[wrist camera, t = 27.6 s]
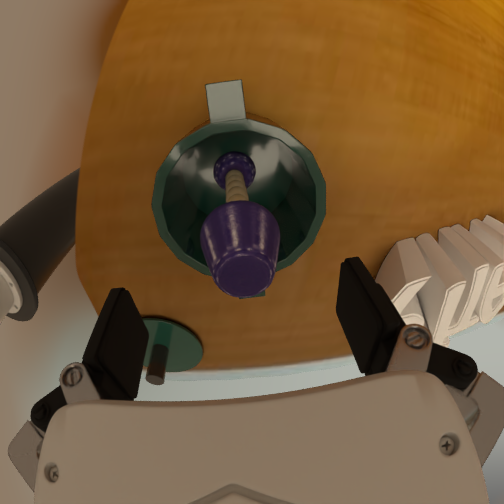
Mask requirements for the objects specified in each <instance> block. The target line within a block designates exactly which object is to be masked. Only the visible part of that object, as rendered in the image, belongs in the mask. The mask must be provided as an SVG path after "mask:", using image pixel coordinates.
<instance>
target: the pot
mask: <svg viewBox="0 0 504 504" xmlns="http://www.w3.org/2000/svg"><path fill="white" fill-rule="evenodd" d="M205 89H206V96H207V104H208V111H209V118H210V119H208V120H207V121H205V122H203V123H202V124H200V125H198V126H197V127H195V128H194V129H193V130H191V131H190V132H189V133H188V134H187V135H185V136H184V137H183V138H182V139H181V140H180V141H179V142H177V143H176V144H175V146H174V147H173V149H172V150H171V151H170V153H169V154H168V156H167V157H166V159H165V160H164V162H163V163H162V165H161V166H160V168H159V170H158V171H157V173H156V178H155V184H154V190H153V197H152V204H151V205H152V210H153V214H154V217H155V221H156V224H157V228H158V231H159V235H160V237H161V238H162V239H163V241H164V242H165V243H166V244H167V246H168V247H169V248H170V249H171V251H172V252H173V253H174V254H175V256H176V257H177V258H178V259H179V260H180V261H182V262H184V263H185V264H187V265H189V266H191V267H192V268H194V269H196V270H197V271H199V272H201V273H202V274H204V275H209V276H212V275H211V273H210V270H209V267H208V265H207V262H206V259H205V256H204V253H203V250H202V248H201V242H200V233H201V228H202V225H203V223H204V221H205V219H206V217H207V216H208V215H209V214H210V213H211V212H212V211H213V210H214V209H215V208H216V207H218V206H220V205H222V204H225V203H227V202H226V191H225V190H224V189H222V188H221V187H220V186H219V185H218V184H217V183H216V181H215V179H214V175H213V170H214V165H215V163H216V161H217V160H218V159H219V158H220V157H221V156H222V155H224V154H226V153H228V152H232V151H237V152H242V153H244V154H246V155H248V156H249V157H250V158H251V159H252V160H253V162H254V164H255V168H256V175H255V178H254V181H253V182H252V184H251V185H250V186H249V187H248V188H247V194H248V198H249V200H248V201H251V202H255V203H258V204H259V205H262V206H263V207H265V208H266V209H267V210H268V211H270V212H271V213H272V215H273V216H274V217H275V219H276V221H277V223H278V226H279V230H280V245H279V252H278V259H277V266H276V272H277V271H279V270H281V269H283V268H285V267H287V266H289V265H292V264H293V263H294V262H295V261H296V260H297V259H298V258H299V257H300V256H301V255H302V254H303V253H304V252H305V251H306V250H307V249H308V248H309V247H310V246H311V245H312V244H313V242H314V240H315V238H316V236H317V234H318V231H319V229H320V227H321V225H322V222H323V220H324V218H325V215H326V183H325V180H324V178H323V175H322V173H321V171H320V169H319V166H318V164H317V162H316V160H315V158H314V156H313V154H312V153H311V151H310V150H309V149H307V148H306V147H305V146H304V145H303V144H302V143H301V142H299V141H298V140H297V139H296V138H295V137H294V136H292V135H291V134H290V133H289V132H288V131H286V130H285V129H284V128H282V127H281V126H279V125H278V124H276V123H275V122H273V121H272V120H270V119H268V118H266V117H262V116H259V115H256V114H251V113H248V112H246V111H245V102H244V94H243V86H242V80H232V81H225V82H218V83H211V84H206V85H205ZM261 296H265V290H264V291H263V292H261V293H260V294H257V295H255V296H252V297H261ZM252 297H245V298H252ZM239 299H244V298H240V297H239Z"/></svg>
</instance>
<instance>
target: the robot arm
mask: <svg viewBox="0 0 504 504" xmlns="http://www.w3.org/2000/svg"><path fill="white" fill-rule="evenodd" d="M22 303H23V299H22V294H21V290H20V288H19V285H18V283H17V281H16V279H15V278H14V276H13V275H12V273H11V272H10V271H9V269H8V268H7V267H6V266H5V265H4V264H3V263H2V262H1V261H0V324H1V323H2V321H3V319H4V318H5V316H6V315H7V313H16V312H18V311H19V310H20V308H21V306H22ZM336 313H337V316H338V318H339V321H340V323H341V326H342V328H343V330H344V333H345V335H346V338H347V340H348V343H349V345H350V347H351V350H352V352H353V355H354V357H355V360H356V362H357V365H358V368H359V370H360V372H361V373H365V376H364V377H359V378H355V379H351V380H346V381H342V382H338V383H333V384H328V385H323V386H318V387H313V388H307V389H302V390H297V391H290V392H284V393H277V394H270V395H262V396H254V397H245V398H234V399H222V400H205V401H175V402H174V401H172V402H169V401H168V402H167V401H165V402H163V401H161V402H160V401H134V398H136V397H137V394H138V388H139V383H140V378H141V373H142V368H143V363H144V358H145V354H146V349H147V345H148V340H149V332H148V330H147V328H146V326H145V324H144V322H143V320H142V318H141V316H140V314H139V312H138V310H137V307H136V305H135V303H134V301H133V299H132V297H131V295H130V293H129V291H128V290H125V288H123V287H122V288H113V289H111V290H110V292H109V295H108V297H107V299H106V301H105V303H104V306H103V308H102V310H101V313H100V315H99V317H98V320H97V322H96V324H95V327H94V329H93V332H92V334H91V337H90V339H89V342H88V345H87V347H86V349H85V352H84V355H83V358H82V359H83V361H82V364H81V363H79V362H75V363H71V364H69V365H67V366H66V367H65V368H64V369H63V370H62V372H61V374H60V379H59V380H60V386H59V387H57V388H56V389H54V390H53V391H52V392H50V393H49V394H47V395H46V396H45V397H43V398H42V399H41V400H39V401H38V402H37V403H36V404H35V405H34V406H33V408H32V410H31V421H27V422H26V423H25V424H24V426H23V427H22V428H21V430H20V431H19V432H18V433H17V435H16V436H15V437H14V439H13V440H12V441H11V443H10V445H9V448H8V455H9V457H10V459H11V461H12V463H13V464H14V466H15V467H16V469H17V470H18V472H19V473H20V474H21V476H22V477H23V478H24V480H25V481H26V483H27V484H28V485H29V487H30V488H31V489H32V490H33V492H34V493H35V494H34V504H489V498H488V493H487V489H486V484H485V480H484V476H483V472H482V466H483V464H484V463H485V461H486V460H487V458H488V456H489V455H490V453H491V451H492V449H493V447H494V446H495V444H496V442H497V440H498V438H499V436H500V434H501V432H502V430H503V428H504V387H503V386H502V385H500V384H499V383H498V382H496V381H495V380H494V379H492V378H491V377H490V376H488V375H487V374H486V373H484V372H483V371H482V372H481V373H479V372H478V369H477V365H476V363H475V361H474V360H473V359H472V358H471V357H470V356H468V355H466V354H463V353H460V352H458V351H455V350H452V349H449V348H447V347H444V346H442V345H439V344H436V343H434V342H433V337H432V334H431V333H430V331H429V330H428V329H427V328H426V327H424V326H422V325H420V324H408V325H406V324H405V322H404V320H403V319H402V317H401V316H400V314H399V312H398V311H397V309H396V307H395V306H394V304H393V303H392V301H391V300H390V298H389V297H388V295H387V293H386V292H385V290H384V289H383V287H382V286H381V285H380V284H379V283H376V282H375V280H374V279H373V277H372V276H371V274H370V273H369V271H368V270H367V268H366V267H365V265H364V264H363V262H362V261H361V260H360V258H359V257H352V258H346V259H345V261H344V262H342V263H341V268H340V278H339V287H338V296H337V304H336Z"/></svg>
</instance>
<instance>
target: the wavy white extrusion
mask: <svg viewBox="0 0 504 504" xmlns="http://www.w3.org/2000/svg"><path fill="white" fill-rule="evenodd" d="M375 282H376V283H379V284H380V285H381V286H382V287H383V289H384V290H385V292H386V293H387V295H388V297H389V298H390V300H391V301H392V303H393V304H394V306H395V307H396V309H397V311H398V312H399V314H400V316H401V317H402V319H403V320H404V322H405V324H406V325H408V324H420V325H422V326H424V327H426V328H427V329H428V330H429V331H430V333H431V334H432V337H433V342H434V343H436V344H439V345H442V346H444V347H448V346H449V342H450V340H449V338H448V336H450V335H453V334H455V333H458V332H460V331H462V330H464V329H466V328H468V327H470V326H472V325H473V324H475V323H477V322H478V321H479V319H480V320H481V322H482V323H484V324H487V323H488V322H489V321H490V320H491V319H492V318H493V317H494V316H495V315H496V314H497V313H498V311H499V310H500V309H501V308H502V306H503V305H504V224H503V223H501V222H500V221H498V220H496V219H494V218H492V217H490V216H488V215H486V217H485V218H484V220H483V221H480V220H479V219H473V220H472V221H470V230H469V231H468V230H466V229H465V228H464V227H462V226H461V225H460V224H456V225H453V226H452V227H451V228H450V227H443V228H441V229H439V239H438V243H437V242H436V241H435V239H434V238H433V237H432V236H431V235H430V234H429V233H424V234H421V235H419V236H418V237H417V238H416V242H415V240H414V238H408V239H404V240H401V241H398V242H396V243H395V245H394V246H393V247H392V249H391V250H390V252H389V253H388V255H387V256H386V258H385V260H384V261H383V263H382V265H381V267H380V269H379V272H378V274H377V276H376V279H375Z"/></svg>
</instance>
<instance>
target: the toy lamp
mask: <svg viewBox="0 0 504 504" xmlns="http://www.w3.org/2000/svg"><path fill="white" fill-rule="evenodd" d="M213 175H214V179H215V181H216V183H217V184H218V185H219V186H220V187H221V188H222V189H224V190H225V191H226V202H227V203H225V204H222V205H220V206H218V207H216V208H215V209H214V210H213V211H212V212H211V213H210V214H209V215H208V216H207V217H206V219H205V221H204V223H203V225H202V228H201V233H200V242H201V248H202V250H203V253H204V256H205V259H206V262H207V265H208V267H209V270H210V273H211V275H212V277H213V280H214V282H215V283H216V285H217V286H218V287H219V288H220V289H221V290H222V291H223V292H225V293H226V294H228V295H231V296H233V297H240V298H245V297H252V296H255V295H257V294H260V293H261V292H263V291H264V290H265V289H266V288H268V287H269V285H270V284H271V282H272V280H273V278H274V275H275V272H276V266H277V259H278V252H279V245H280V230H279V226H278V223H277V221H276V219H275V217H274V216H273V215H272V213H271V212H270V211H268V210H267V209H266V208H265V207H263V206H262V205H259V204H258V203H255V202H251V201H248V200H249V198H248V194H247V188H248V187H249V186H250V185H251V184H252V182H253V181H254V178H255V175H256V168H255V164H254V162H253V160H252V159H251V158H250V157H249V156H248V155H246V154H244V153H242V152H237V151H232V152H228V153H226V154H224V155H222V156H221V157H220V158H219V159H218V160H217V161H216V163H215V165H214V170H213Z"/></svg>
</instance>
